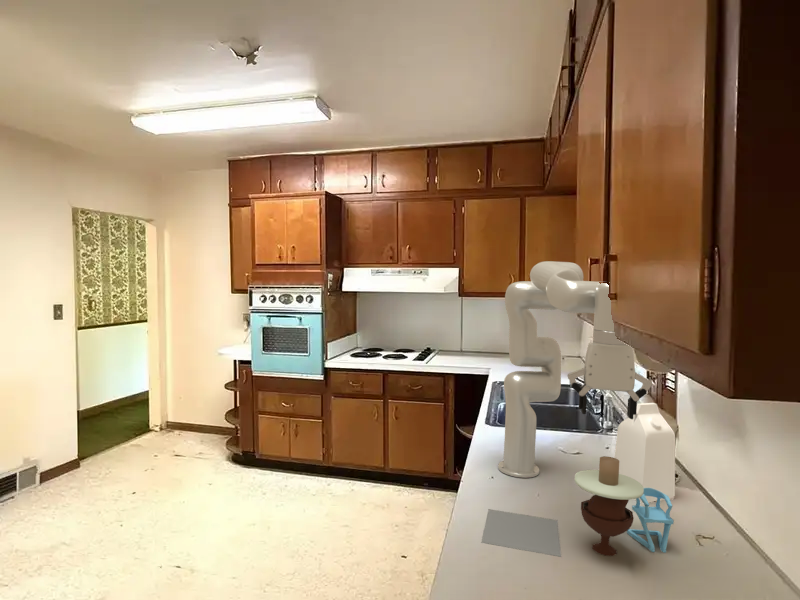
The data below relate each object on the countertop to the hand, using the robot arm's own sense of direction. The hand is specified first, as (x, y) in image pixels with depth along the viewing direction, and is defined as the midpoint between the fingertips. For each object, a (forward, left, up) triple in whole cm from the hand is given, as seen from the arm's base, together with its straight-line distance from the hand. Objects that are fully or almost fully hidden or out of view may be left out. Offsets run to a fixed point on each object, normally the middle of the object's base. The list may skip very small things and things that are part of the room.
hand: (606, 415), depth 108 cm
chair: (-7, +12, -31) cm, 34 cm away
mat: (-1, -17, -30) cm, 35 cm away
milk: (-37, +16, -31) cm, 51 cm away
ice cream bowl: (+1, +1, -31) cm, 31 cm away
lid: (+1, +1, -15) cm, 15 cm away
